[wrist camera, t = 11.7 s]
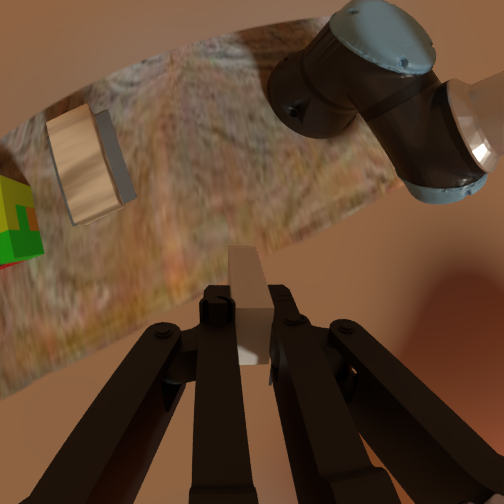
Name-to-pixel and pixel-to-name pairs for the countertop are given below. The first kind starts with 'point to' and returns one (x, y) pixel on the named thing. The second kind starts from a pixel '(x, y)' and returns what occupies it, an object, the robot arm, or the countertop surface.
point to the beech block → (83, 165)
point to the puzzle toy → (17, 224)
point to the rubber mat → (113, 157)
